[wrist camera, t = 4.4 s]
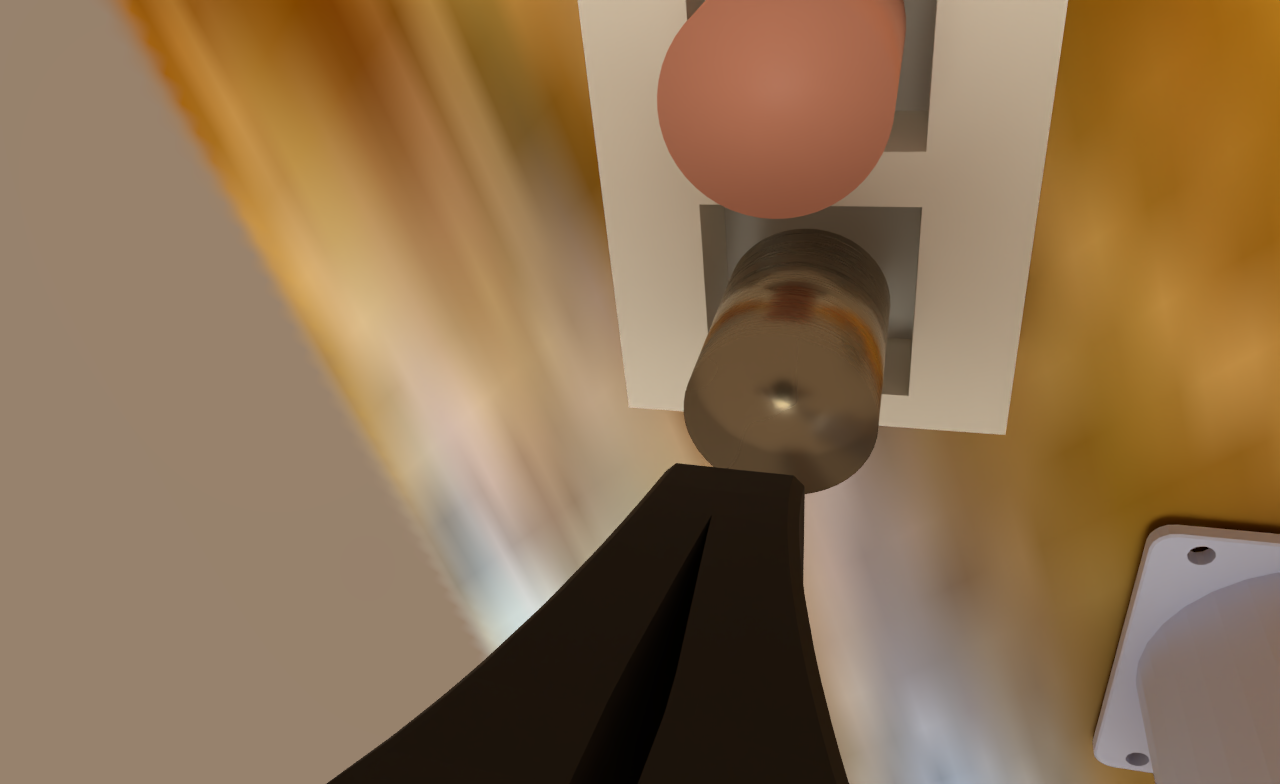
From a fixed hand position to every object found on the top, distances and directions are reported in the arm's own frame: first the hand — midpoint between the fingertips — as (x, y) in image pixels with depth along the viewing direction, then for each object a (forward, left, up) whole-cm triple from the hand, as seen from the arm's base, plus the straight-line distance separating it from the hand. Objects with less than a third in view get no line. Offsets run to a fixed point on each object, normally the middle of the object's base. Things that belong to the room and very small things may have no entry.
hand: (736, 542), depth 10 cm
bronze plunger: (0, +1, -7) cm, 7 cm away
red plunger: (0, -3, -7) cm, 8 cm away
